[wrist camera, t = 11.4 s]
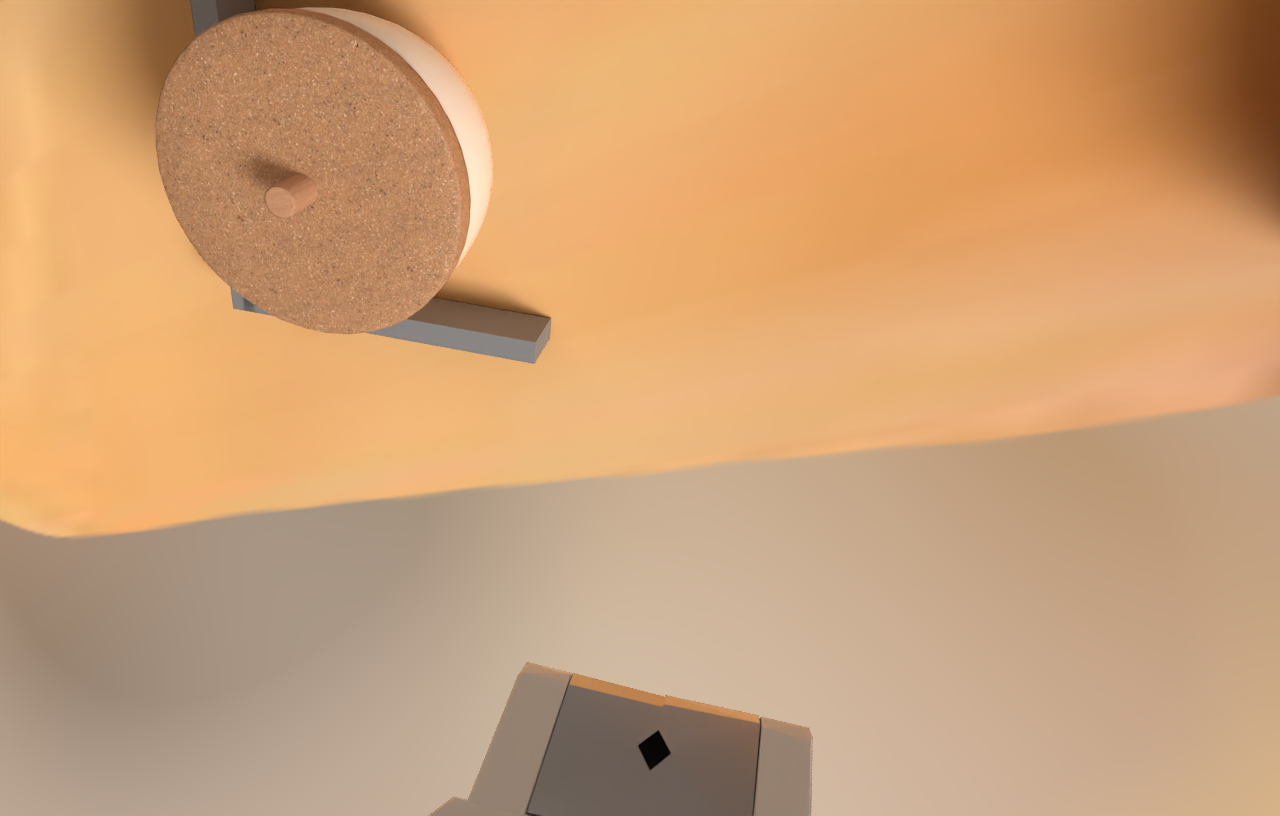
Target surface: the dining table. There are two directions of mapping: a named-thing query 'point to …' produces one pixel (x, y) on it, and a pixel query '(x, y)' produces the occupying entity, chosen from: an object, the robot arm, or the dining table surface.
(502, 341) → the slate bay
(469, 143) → the lidded jar
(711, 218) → the dining table surface
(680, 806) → the robot arm
